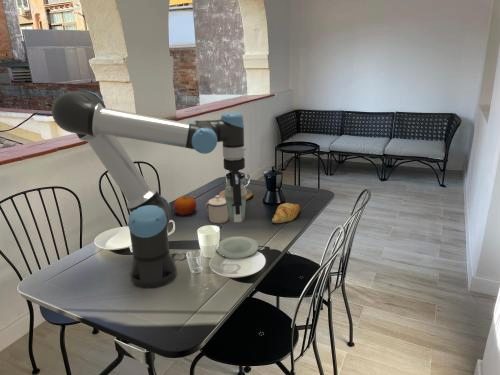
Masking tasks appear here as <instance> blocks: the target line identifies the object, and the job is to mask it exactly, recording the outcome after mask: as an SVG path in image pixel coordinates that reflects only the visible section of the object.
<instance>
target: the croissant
mask: <svg viewBox="0 0 500 375" xmlns="http://www.w3.org/2000/svg"><path fill="white" fill-rule="evenodd" d="M300 211H301V205H300V204H297V203H295V204H294V203H292V202H285V203H284V202H283V203H281V204H279V205H278V206H277V208H276V210H275V214H274V215H273V217H272V220H271V222H272V223H274V224H280V223H281V224H282V223H288V222H291V221H294V219H296V218H297V217H298V214H299V213H300Z"/></svg>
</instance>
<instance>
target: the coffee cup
mask: <svg viewBox="0 0 500 375" xmlns="http://www.w3.org/2000/svg"><path fill="white" fill-rule="evenodd" d="M247 194H248V190H247V189H246V187H245V186H244V185H241V203H242V206H241V219H242V221H244V220H245V214H246V205H247V203H246V202H247ZM223 195H224V198H225V199H226V205H227V211H228V220H229V221H231V222H232V223H233V222H234V211H233V206H232V205H233V204H234V200H233V188H232V187H231V186H230V185H229V186H227V187H225V189H224V191H223ZM234 223H235V222H234Z"/></svg>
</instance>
